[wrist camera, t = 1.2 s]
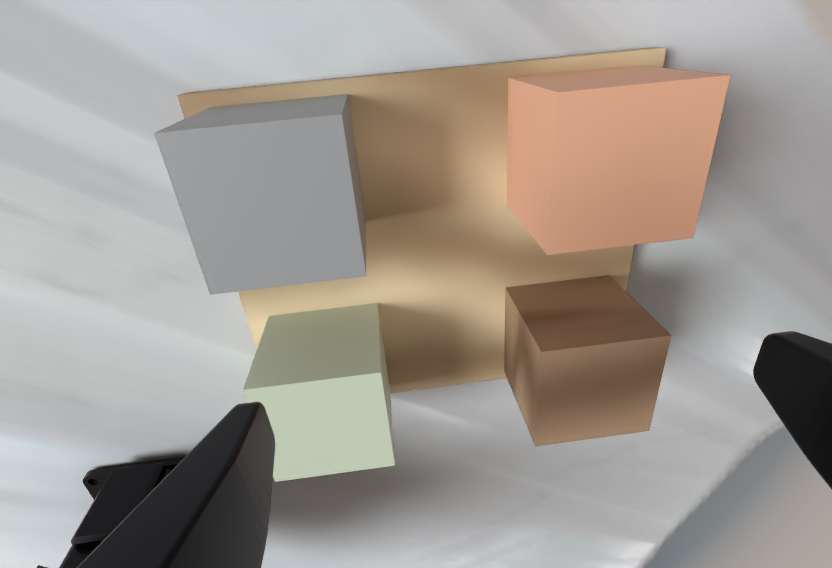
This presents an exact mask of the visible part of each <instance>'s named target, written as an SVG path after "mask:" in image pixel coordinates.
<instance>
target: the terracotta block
mask: <svg viewBox="0 0 832 568" xmlns="http://www.w3.org/2000/svg"><path fill="white" fill-rule="evenodd" d="M730 76H731V75H726V74H716V73H707V72H698V71H688V70H679V69H669V68H660V67H651V66H641V65H635V66H625V67H615V68H605V69H595V70H585V71H574V72H564V73H554V74H544V75H534V76H524V77H514V78H508V141H507V207H508V208H509V209H510V211H511V212H512V213H513V214H514V215H515V217H516V218H517V219H518V220H519V221H520V223H521V224H522V225H523V226H524V227H525V229H526V230H527V231H528V232H529V233H530V235H531V236H532V237H533V238H534V240H535V241H536V242H537V243H538V244H539V246H540V247H541V248H542V249H543V250H544V252H545V253H546V254H547V255H552V254H561V253H569V252H578V251H586V250H595V249H603V248H612V247H620V246H629V245H637V244H646V243H654V242H663V241H671V240H680V239H688V238H693V237H694V233H695V229H696V224H697V220H698V215H699V211H700V207H701V202H702V198H703V194H704V189H705V185H706V180H707V176H708V172H709V167H710V163H711V159H712V154H713V150H714V146H715V141H716V137H717V132H718V128H719V124H720V119H721V115H722V111H723V106H724V102H725V97H726V93H727V89H728V84H729V80H730Z"/></svg>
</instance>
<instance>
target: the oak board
mask: <svg viewBox="0 0 832 568" xmlns="http://www.w3.org/2000/svg"><path fill="white" fill-rule="evenodd" d="M665 53H666V48H656V47H654V48H643V49H633V50H623V51H612V52H602V53H592V54H582V55H571V56H561V57H551V58H540V59H530V60H520V61H510V62H499V63H489V64H479V65H468V66H458V67H448V68H437V69H427V70H417V71H407V72H396V73H386V74H376V75H365V76H355V77H345V78H334V79H324V80H314V81H304V82H293V83H283V84H273V85H262V86H252V87H242V88H231V89H221V90H211V91H201V92H190V93H184V94H180V95H177V96H178V99H179V102H180V106H181V109H182V112H183V115H184V118H185V119H186V118H188V117H190V116H193V115H195V114H197V113H199V112H201V111H203V110H206V109H208V108H210V107H220V106H230V105H240V104H251V103H261V102H271V101H281V100H291V99H301V98H311V97H321V96H331V95H342V94H348V98H349V105H350V112H351V119H352V126H353V133H354V140H355V147H356V154H357V161H358V168H359V175H360V182H361V189H362V196H363V203H364V210H365V217H366V276H365V277H356V278H348V279H339V280H331V281H322V282H314V283H305V284H297V285H288V286H280V287H271V288H263V289H254V290H245V291H238V292H239V296H240V299H241V302H242V305H243V308H244V312H245V315H246V318H247V321H248V325H249V328H250V331H251V334H252V337H253V341H254V344H255V347H256V350H257V348H258V346H259V343H260V340H261V337H262V334H263V331H264V328H265V325H266V322H267V319H268V317H269V316H272V315H281V314H289V313H297V312H306V311H314V310H322V309H331V308H339V307H347V306H356V305H364V304H372V303H378V309H379V316H380V323H381V330H382V337H383V344H384V351H385V358H386V365H387V372H388V379H389V386H390V393H395V392H403V391H410V390H418V389H426V388H434V387H441V386H449V385H457V384H464V383H472V382H480V381H488V380H495V379H503V378H507V377H506V374H505V372H504V345H505V287H514V286H522V285H530V284H539V283H547V282H555V281H564V280H572V279H580V278H589V277H597V276H605V275H610V276H611V277H612V278H613V279H614V280H615V281H616V282H617V283H618V284H619V285H620V286H621V287H622V288H623V289H624V290H625V291H626V292H627V286H628V280H629V274H630V268H631V262H632V256H633V249H634V245H629V246H620V247H612V248H603V249H595V250H586V251H578V252H569V253H561V254H552V255H547V254H546V253H545V252H544V250H543V249H542V248H541V247H540V246H539V244H538V243H537V242H536V241H535V240H534V238H533V237H532V236H531V235H530V233H529V232H528V231H527V230H526V229H525V227H524V226H523V225H522V224H521V223H520V221H519V220H518V219H517V218H516V217H515V215H514V214H513V213H512V212H511V211H510V209H509V208H508V207H507V141H508V78H514V77H524V76H534V75H544V74H554V73H564V72H574V71H585V70H595V69H605V68H615V67H625V66H635V65H641V66H651V67H660V68H663V65H664V59H665Z"/></svg>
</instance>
